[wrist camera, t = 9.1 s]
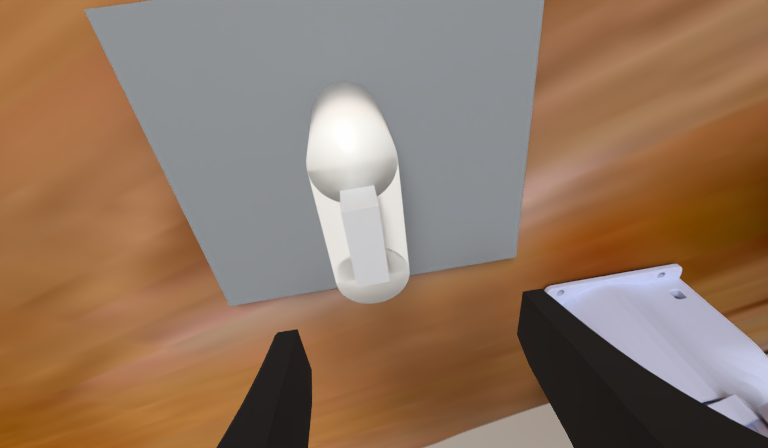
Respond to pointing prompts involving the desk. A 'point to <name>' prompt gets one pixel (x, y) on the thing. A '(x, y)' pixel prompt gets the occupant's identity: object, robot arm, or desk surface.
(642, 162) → the desk surface
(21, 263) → the desk surface
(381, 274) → the connector plug
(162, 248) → the desk surface
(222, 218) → the desk mat
